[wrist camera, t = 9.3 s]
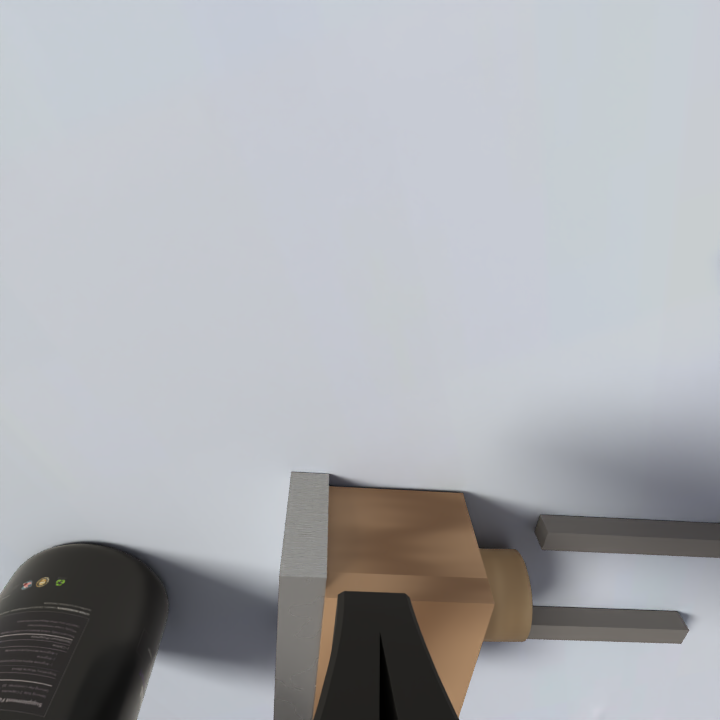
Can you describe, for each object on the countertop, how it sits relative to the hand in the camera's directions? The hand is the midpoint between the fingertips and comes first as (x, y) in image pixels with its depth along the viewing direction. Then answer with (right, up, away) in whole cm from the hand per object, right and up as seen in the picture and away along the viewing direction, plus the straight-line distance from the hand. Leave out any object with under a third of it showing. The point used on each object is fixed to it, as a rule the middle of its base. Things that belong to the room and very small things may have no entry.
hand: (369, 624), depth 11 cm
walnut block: (+1, -4, +13) cm, 14 cm away
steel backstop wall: (-3, -4, +13) cm, 14 cm away
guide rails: (+11, -5, +14) cm, 19 cm away
